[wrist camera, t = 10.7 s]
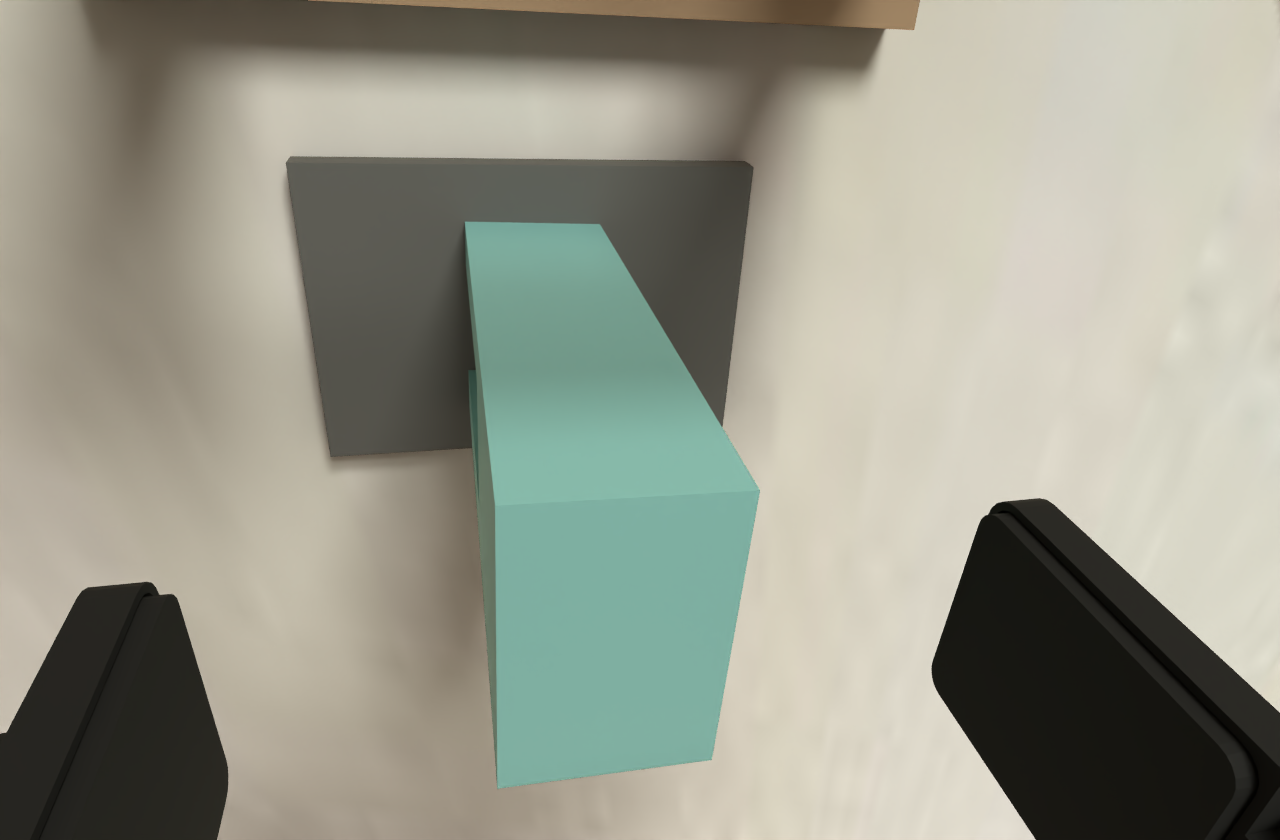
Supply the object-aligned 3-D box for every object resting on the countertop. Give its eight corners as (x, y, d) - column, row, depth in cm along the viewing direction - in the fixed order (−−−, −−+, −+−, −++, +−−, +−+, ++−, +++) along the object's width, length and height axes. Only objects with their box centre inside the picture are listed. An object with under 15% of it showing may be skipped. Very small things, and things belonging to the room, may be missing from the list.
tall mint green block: (464, 221, 18) (494, 505, 9) (599, 224, 19) (760, 490, 9) (469, 406, 20) (497, 788, 11) (590, 403, 21) (711, 760, 12)
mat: (290, 156, 17) (285, 162, 17) (744, 161, 19) (753, 167, 19) (333, 443, 20) (330, 456, 20) (714, 421, 23) (721, 432, 22)
